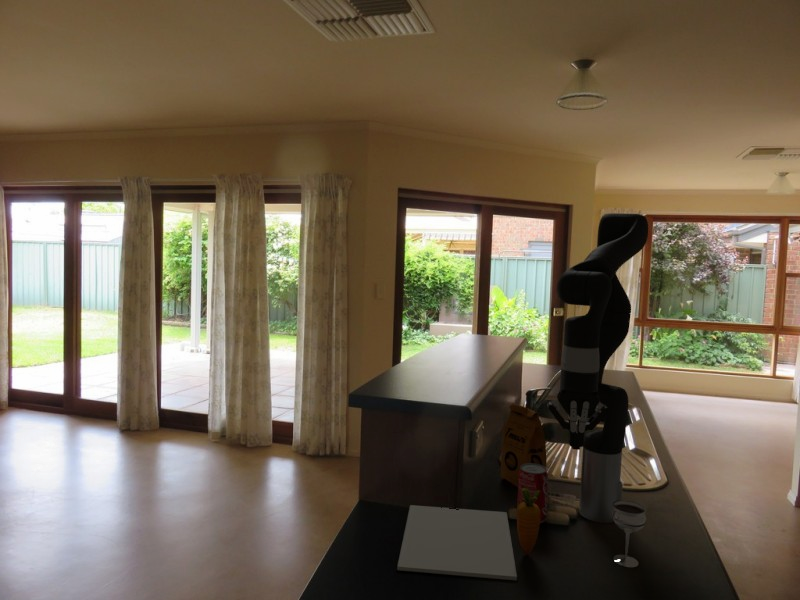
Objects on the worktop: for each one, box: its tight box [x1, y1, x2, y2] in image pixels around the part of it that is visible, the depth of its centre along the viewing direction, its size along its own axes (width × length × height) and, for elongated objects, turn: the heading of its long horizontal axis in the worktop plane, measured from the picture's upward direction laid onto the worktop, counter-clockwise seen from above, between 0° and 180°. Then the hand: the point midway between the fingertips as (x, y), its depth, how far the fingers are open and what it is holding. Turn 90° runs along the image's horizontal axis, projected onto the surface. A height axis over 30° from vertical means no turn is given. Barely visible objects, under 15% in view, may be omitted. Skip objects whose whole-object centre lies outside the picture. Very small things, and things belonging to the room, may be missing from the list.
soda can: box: [516, 463, 549, 525], centre depth 139 cm, size 7×7×13 cm
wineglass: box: [612, 499, 647, 568], centre depth 122 cm, size 7×7×12 cm
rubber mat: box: [396, 504, 518, 581], centre depth 129 cm, size 24×28×1 cm
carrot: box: [516, 488, 541, 556], centre depth 123 cm, size 5×5×15 cm
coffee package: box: [500, 403, 548, 488], centre depth 160 cm, size 10×12×22 cm
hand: (575, 448), depth 120 cm, fingers closed
